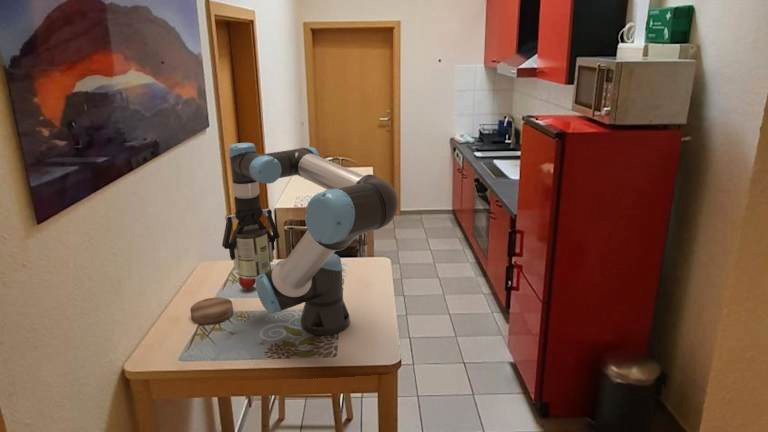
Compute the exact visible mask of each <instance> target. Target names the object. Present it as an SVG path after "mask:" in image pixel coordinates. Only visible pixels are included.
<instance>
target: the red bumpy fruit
mask: <svg viewBox="0 0 768 432" xmlns="http://www.w3.org/2000/svg"><path fill="white" fill-rule="evenodd" d="M238 277H239V276H238ZM238 283H239V286H240V287H241V288H243V289H245V290H247V291H249V290H251V289H252V288H254V286H256V279H245V278H241V277H239V278H238Z"/></svg>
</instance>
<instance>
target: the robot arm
mask: <svg viewBox="0 0 768 432" xmlns="http://www.w3.org/2000/svg"><path fill="white" fill-rule="evenodd" d="M228 151H229V157H228V158H229V163H230V171H231V179H232V189H233V195H234V197H233V198H234V199H233V200H234V208H235V212H234V214H231V215H228V214H226V215H225V217H224V218H225V227H224V233H223V237H222V243H221V246H222V247H223V248H224V249H226V250H228V251H229V253H228V254H229V257H230V260H233V266H234V268H235V270H237V271H238V270H239V260H238V251H237V249H236V248H235V246H236V244H237V240H236V236H234V235H233V234H232V232H233V231H232V230H233V223H234V222H235V219H236V221H237V224H236V227H235V229H234V230H235V233H236V234H241V233H242V230H243V229H244V228H245V226H250V225H258V226H259V227H260V228H261V229H265V228H266V225H265V224H264V223H263V222H262V219H261V217H262V216H265V219H266V221H267V223H268V226H269V228H270V231H271V232H270V231H269V230H268V231H267V234H268V244H269V255H270V263H273V262H274V258H273V252H274V251H275V249H276V248H275V247H276V246H275V242H276V240H278V239H279V238H280V237H281V236H280V234H279V231H278V228H277V226H276V224H275V221H274V219H273V211H272V209H271V208H269V207H266V208H265V209H263V208H262V203H261V195H260V183H261V184H273V183H275V182H276V181H278V180H279V179H283V178H287V177H289V178H290V177H294V176H298V177H300V178H303V179H305V180H307V181H308V182H311V183H313V184H314V185H317V186H319V187H321V188H323V189H325V190H323V191H321V192H318V193H316V194H315V195H313V196H312V197H311V198H310V199H309V200H308V202H307V205H306V208H305V212H306V215H305V216H304V217H305V218H304V220H305V224H306V228H307V230H306V232H305V233H304V235H303V236H302V238H301V239H300V240H299V241H298V242H297V244H296V246H295V247H294V248H293V249H292V251H291V252H290V254H289V255H288V256H287V257H286V258H284V259H281V260H279V261H278V262H276V264H275V265H274V266H273V267H272V268H271V271H269V272H267V273H262V274H261V275H258V276H257V278H256V282H255V288H256V292H257V295H258V298H259V301H260V302H261V303H260V304H261V305H262V307H263V308H264V309H265V310H266V311H267V312H268V313H269V314H276V313H282V311H285V310H287V309H291V308H293V307H295V306H297V305H298V306H299V305H301V304H304V306H303V310H302V313H301V317H300V327H301V329H302V330H303V331H304V332H305V333H308V334H310V335H315V336H330V335H335V334H338V333H340V332H343V331H344V330H346V329H347V328H348V327H349V325H350V322H351V321H350V313H349V311H348V309H347V306H346V303H345V302H344V293H343V288H344V287H343V273H342V272H343V266H342V260H341V257H340V256H339V255H338V254H336V253H335V252H337V251H342V250H345V249H346V248H348V247H349V245H351V243H352V242H353V241H354V240H355V239H356V238H357V237H358V236H360V235H363V234H366V233H370V232H373V231H376V230H380V229H382V228H385V227H386V226H388V225H389V224H390V223H391V222H392V221H393V220H394V218H395V216H396V215H397V212H398V209H399V197H398V194H397V192H396V190H395V188H394V187H393V186H392V184H391V183H389V182H388V181H386V180H385V179H383V178H381V177H380V176H377V175H374V174H371V173H369V174H368V173H367V174H365V175H363V174H361V173H359V172H357V171H354V170H351V169H349V168H347V167H345V166H343V165H340V164H337V163H335V162H333V161H331V160H328V159H326V158H323V157H321V155H320V153H319V152H318V151H317V149H316V148H314V147H312V146H311V147H309V146H308V147H299V148H295V149H294V148H293V149H287V150H280V151H274V152H268V153H257V148H256V145H255V144H254V143H252V142H240V143H239V142H238V143H232V144H231V145H230V146H229V149H228ZM271 233H272V234H271ZM231 235H232V236H231Z"/></svg>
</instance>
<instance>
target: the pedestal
mask: <svg viewBox="0 0 768 432" xmlns="http://www.w3.org/2000/svg"><path fill="white" fill-rule="evenodd" d="M233 305H234V304H233V301H232V300H230V299H229V298H226V297H216V296H215V297H208V298H205V299H202V300H199V301H197V302H195V303H194V304H192V305H191V307H190V309H189V312H190V317H191V321H192V322H193V323H195V324H198V325H214V324H219V323H222V322H225V321H226V320H228V319H229V318H231V317H232V316H233V315H234V308H233Z"/></svg>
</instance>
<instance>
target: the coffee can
mask: <svg viewBox="0 0 768 432" xmlns="http://www.w3.org/2000/svg"><path fill="white" fill-rule="evenodd" d="M265 227H266V226H265ZM268 229H269V228H268V227H266V228H265V229H261V228H260V227H259V226H258V225H257V224H256V225H250V226H245V228H244V229H243V230H242V233H241V234H236V233H235V229H234V230H233V231H232V236H233V235H234V236H236V240H237V244H236V246H235V248H236V249H237V251H238V260H239V270H237V275H238V277H241V278H245V279H256V278H257V276H258V275H261V274H262V273H267V272H269V271H271V270H272V266H271V262H270V255H269V244H268V240H269V239H268V234H267V231H269V230H268Z"/></svg>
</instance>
